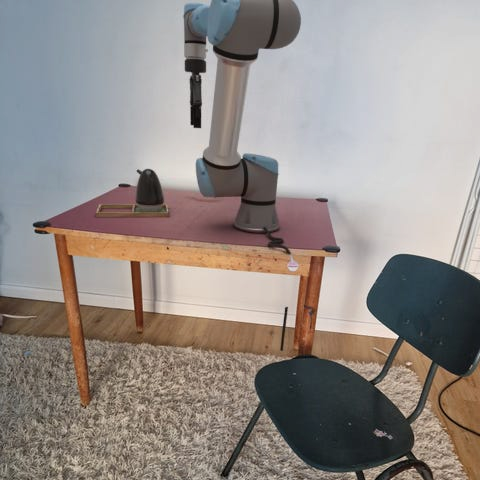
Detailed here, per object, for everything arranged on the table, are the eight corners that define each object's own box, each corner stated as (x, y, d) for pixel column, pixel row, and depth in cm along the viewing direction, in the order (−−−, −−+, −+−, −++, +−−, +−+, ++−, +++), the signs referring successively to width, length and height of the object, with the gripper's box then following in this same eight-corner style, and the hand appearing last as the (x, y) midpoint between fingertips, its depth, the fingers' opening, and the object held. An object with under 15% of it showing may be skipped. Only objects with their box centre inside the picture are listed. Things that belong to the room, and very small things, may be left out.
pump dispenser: (148, 207, 161) (146, 165, 154) (170, 211, 157) (168, 168, 149) (130, 212, 153) (126, 168, 146) (152, 216, 149) (149, 172, 141)
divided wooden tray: (168, 216, 150) (168, 212, 150) (96, 216, 146) (95, 212, 145) (167, 208, 162) (167, 204, 161) (100, 208, 157) (99, 204, 156)
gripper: (210, 57, 135) (209, 129, 145) (202, 62, 156) (202, 124, 166) (187, 56, 133) (187, 128, 143) (182, 60, 155) (183, 123, 165)
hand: (195, 126), depth 155 cm, fingers open, 13 cm apart
